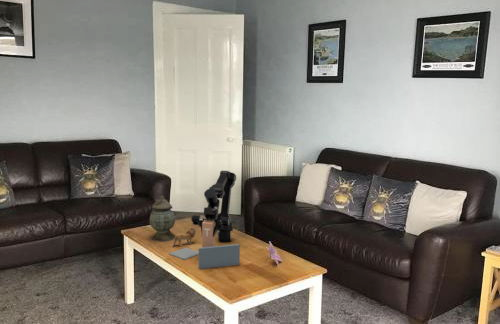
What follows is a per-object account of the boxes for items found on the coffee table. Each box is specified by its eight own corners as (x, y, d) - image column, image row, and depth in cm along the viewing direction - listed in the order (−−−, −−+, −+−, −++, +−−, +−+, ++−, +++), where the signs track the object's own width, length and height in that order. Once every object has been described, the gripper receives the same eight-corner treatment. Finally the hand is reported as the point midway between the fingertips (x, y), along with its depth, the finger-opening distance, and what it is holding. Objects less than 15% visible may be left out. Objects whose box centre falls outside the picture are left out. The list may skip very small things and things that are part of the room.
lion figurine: (192, 240, 260) (192, 225, 258) (197, 242, 256) (197, 227, 254) (170, 246, 250) (170, 230, 248) (175, 248, 246) (175, 232, 244)
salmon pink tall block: (204, 246, 230) (204, 220, 228) (214, 247, 230) (214, 220, 227) (202, 250, 225) (202, 223, 223) (212, 251, 224) (212, 223, 222)
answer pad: (186, 248, 246) (186, 247, 246) (201, 253, 239) (201, 252, 239) (168, 254, 237) (168, 253, 237) (184, 260, 230) (184, 258, 229)
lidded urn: (170, 242, 256) (169, 199, 252) (146, 240, 258) (145, 197, 255) (179, 235, 269) (178, 193, 265) (156, 233, 272) (155, 192, 268)
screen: (238, 263, 226) (238, 244, 224) (239, 264, 224) (239, 245, 223) (198, 267, 220) (198, 247, 218) (199, 268, 218) (199, 248, 217)
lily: (267, 271, 219) (278, 254, 218) (252, 255, 226) (262, 240, 225) (281, 271, 229) (291, 255, 227) (266, 256, 236) (275, 241, 234)
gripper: (192, 199, 229) (185, 227, 220) (228, 201, 226) (223, 229, 217) (196, 210, 238) (190, 237, 229) (231, 212, 235) (227, 240, 226)
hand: (207, 236), depth 225 cm, fingers closed on salmon pink tall block, 5 cm apart
